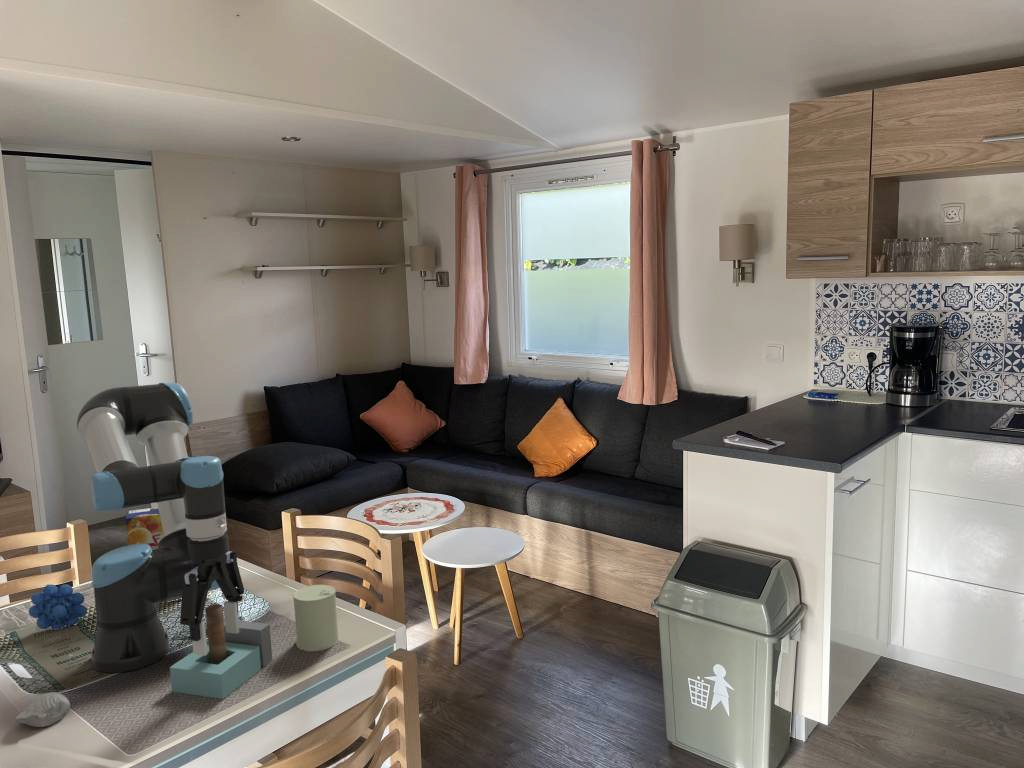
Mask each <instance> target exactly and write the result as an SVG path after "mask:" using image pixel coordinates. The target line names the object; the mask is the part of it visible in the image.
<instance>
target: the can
mask: <svg viewBox="0 0 1024 768" xmlns="http://www.w3.org/2000/svg"><path fill="white" fill-rule="evenodd" d="M292 597H293V607H294V609H293V610H294V619H295V621H294V622H295V632H296V633H295V634H296V635H295V636H296V643H295V644H296V647H297V649H299V650H301V651H303V650H304V652H319V651H324V650H328V649H330V648H332V647H334V646H335V645H337V644H338V642H339V641H340V636H339V628H338V617H337V598H336V588H335V586H332V585H328V584H312V585H307V586H303V587H301V588H299V589H297V590H296V591H294V593H293V595H292Z"/></svg>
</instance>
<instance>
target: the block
mask: <svg viewBox="0 0 1024 768" xmlns="http://www.w3.org/2000/svg"><path fill="white" fill-rule="evenodd" d="M206 642H207V653H208V654H207V655H206V656H202V655H195V654H193V651H192V652H191V653H189V654H187V655H186V656H184V657H183V658H181V659H180V660H179V661H177V662H175V663H173V664H172V665H171V666H170V667H169V672H170V673H169V675H170V683H171V685H170V686H171V692H172V693H173V692H175V693H181V694H187V695H194V696H199V697H200V696H201V697H207V698H213V699H221V700H223V699H225V698H227V697H228V696H229V695H230V694H232V693H233V692H234V691H235V690H237V689H238V688H239V687H240V686H242V685H243V684H244V683H245V682H247V681H248V680H249V679H251V678H252V677H253V676H255V674H257V673H258V672H259V671H261V670H262V668H261V663H260V651H259V646H253V645H245V644H237V643H229V642H226V652H227V659H225V660H224V661H223V662H221V663H220V664H218V665H216V664H210V654H209V643H208V641H206Z"/></svg>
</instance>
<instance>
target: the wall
mask: <svg viewBox="0 0 1024 768" xmlns="http://www.w3.org/2000/svg"><path fill="white" fill-rule="evenodd" d="M238 623H239V633H237V634H234V633H226V627H225V618H224V630H225V641H226V642H229V643H237V644H245V645H253V646H259V651H260V663H261V667H262V668H264V667H266V666H267V665H268V664H270V663H271V662H272V661H273V653H272V652H273V649H272V641H271V640H272V637H271V636H272V635H271V627H270V623H264V622H263V623H262V622H253V621H245V620H238Z"/></svg>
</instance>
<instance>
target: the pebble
mask: <svg viewBox="0 0 1024 768" xmlns="http://www.w3.org/2000/svg"><path fill="white" fill-rule="evenodd" d="M70 707H71V703H70V701H69V698H67V697H66V696H65V695H63V694H62V693H59V692H54V691H51V692H47V693H46V692H45V693H43V694H40V695H39V696H38V697H36V698H35V699H33V700H32V701H31V702H30V703H29V704H28V706H27V707H26V708H25V709H24V710H23V711H21V713H20V714H18V715H17V716H15V719H14V722H15V723H18V724H19V723H21V724H25V725H27V726H30V727H37V728H44V727H48V726H51V725H53V724H55V723H57V722H58V721H60V720H62V719H64V717H65V715H66V714H67V712H68V711H69V709H70Z"/></svg>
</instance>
